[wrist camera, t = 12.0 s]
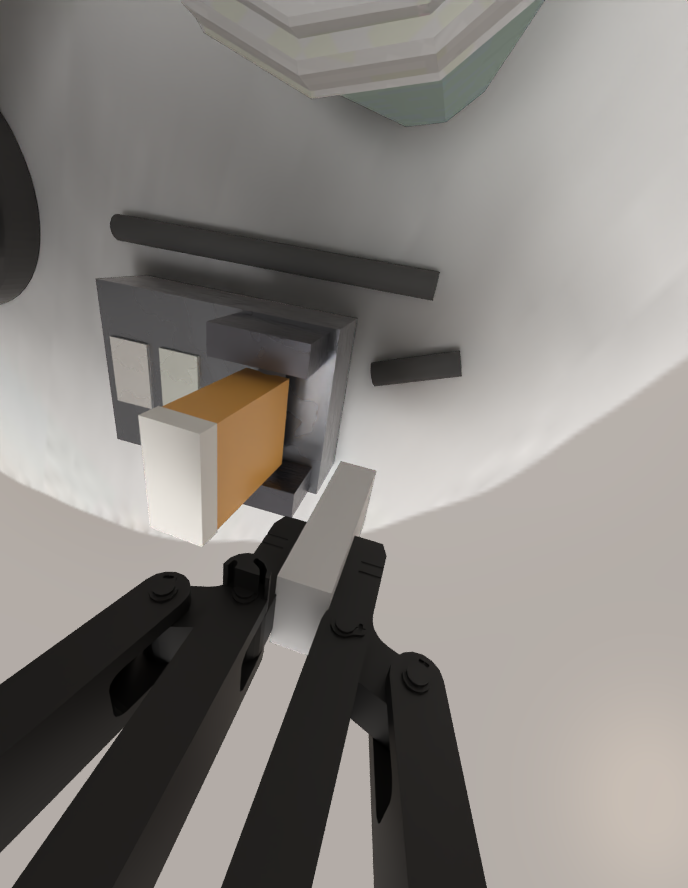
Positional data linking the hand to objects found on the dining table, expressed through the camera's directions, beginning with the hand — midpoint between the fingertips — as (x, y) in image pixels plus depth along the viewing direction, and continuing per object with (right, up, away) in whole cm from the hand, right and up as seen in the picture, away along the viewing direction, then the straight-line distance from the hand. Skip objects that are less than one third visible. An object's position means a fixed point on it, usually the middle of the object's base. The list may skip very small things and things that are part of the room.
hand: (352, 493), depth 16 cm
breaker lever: (-4, +4, +5) cm, 8 cm away
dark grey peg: (+4, +7, +7) cm, 10 cm away
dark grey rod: (-4, +13, +6) cm, 15 cm away
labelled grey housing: (-7, +7, +10) cm, 14 cm away
